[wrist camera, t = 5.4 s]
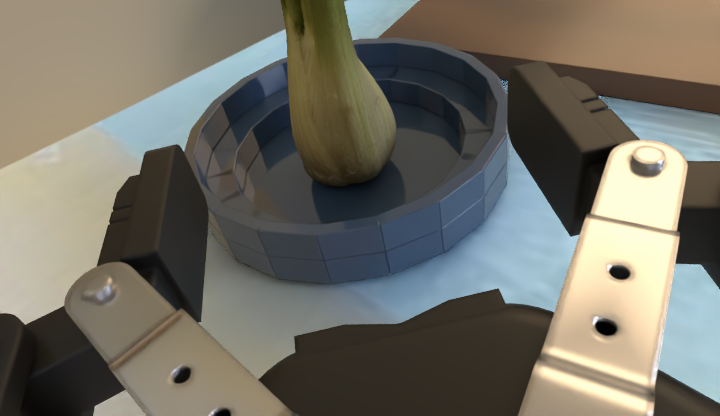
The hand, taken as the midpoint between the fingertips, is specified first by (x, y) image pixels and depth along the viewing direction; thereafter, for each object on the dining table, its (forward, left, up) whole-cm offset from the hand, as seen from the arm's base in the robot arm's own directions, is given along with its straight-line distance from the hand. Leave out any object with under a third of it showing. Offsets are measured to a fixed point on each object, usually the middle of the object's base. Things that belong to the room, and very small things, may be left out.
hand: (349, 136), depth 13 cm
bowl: (-8, -7, -9) cm, 14 cm away
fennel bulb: (-8, -7, -9) cm, 14 cm away
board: (-24, -2, -9) cm, 26 cm away
